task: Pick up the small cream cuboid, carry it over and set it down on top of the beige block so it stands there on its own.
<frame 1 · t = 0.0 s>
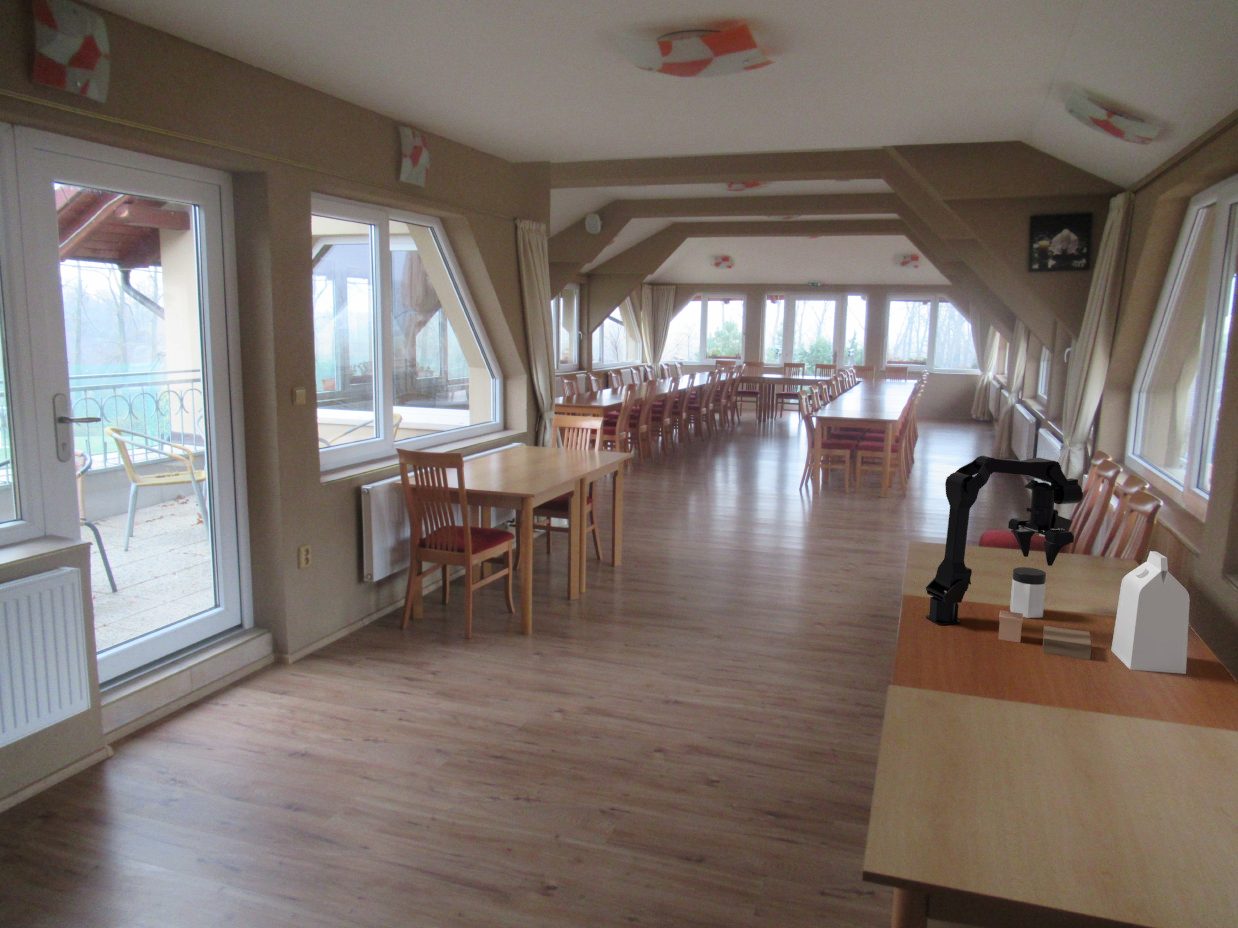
hand: (1037, 561, 231), 15 cm above the table, fingers open, 9 cm apart
milk: (1147, 662, 199), on the table
beige block: (1065, 650, 207), on the table
jar: (1026, 613, 233), on the table
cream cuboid: (1009, 637, 214), on the table
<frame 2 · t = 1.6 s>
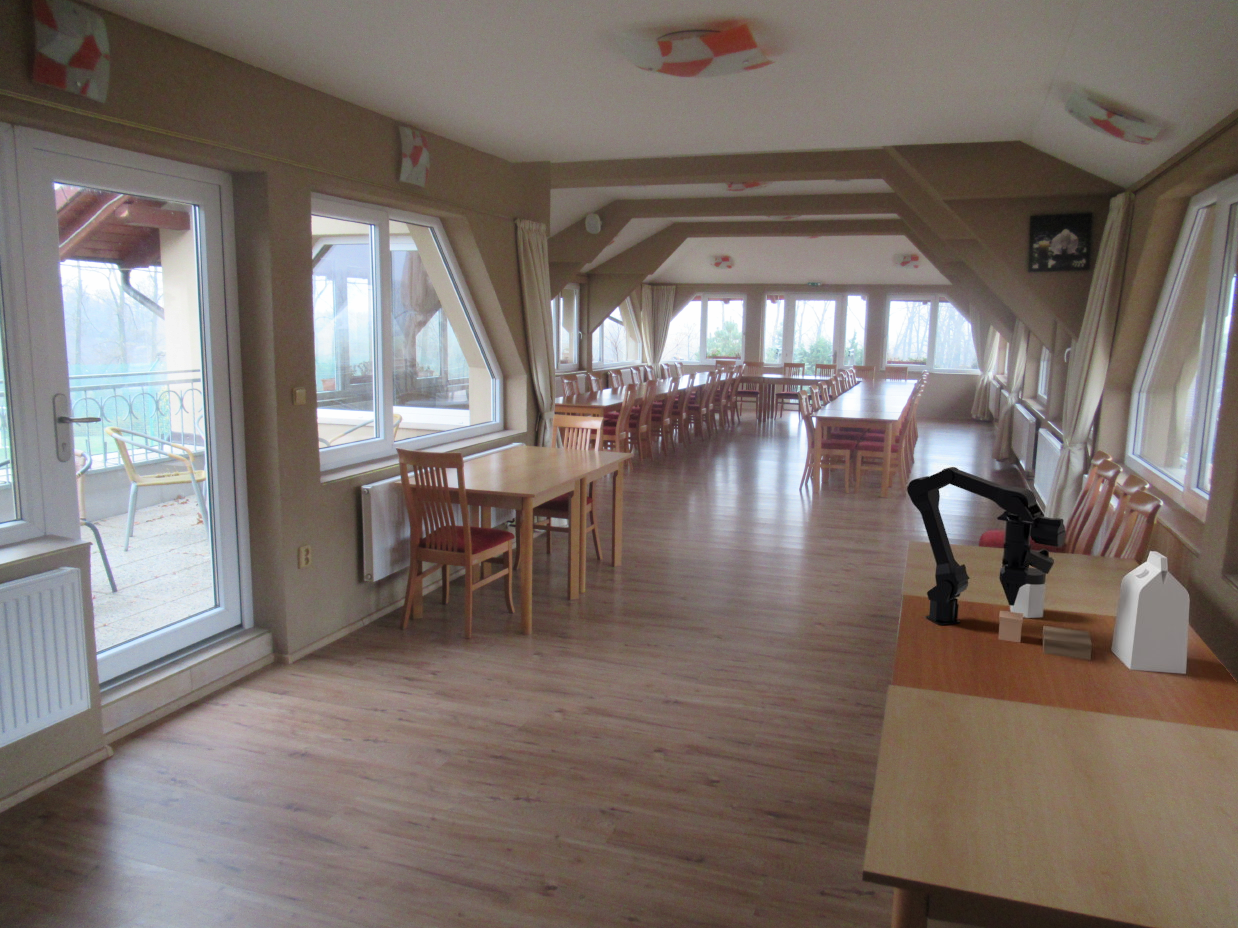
hand: (1012, 599, 213), 10 cm above the table, fingers open, 9 cm apart
nothing on the table moved.
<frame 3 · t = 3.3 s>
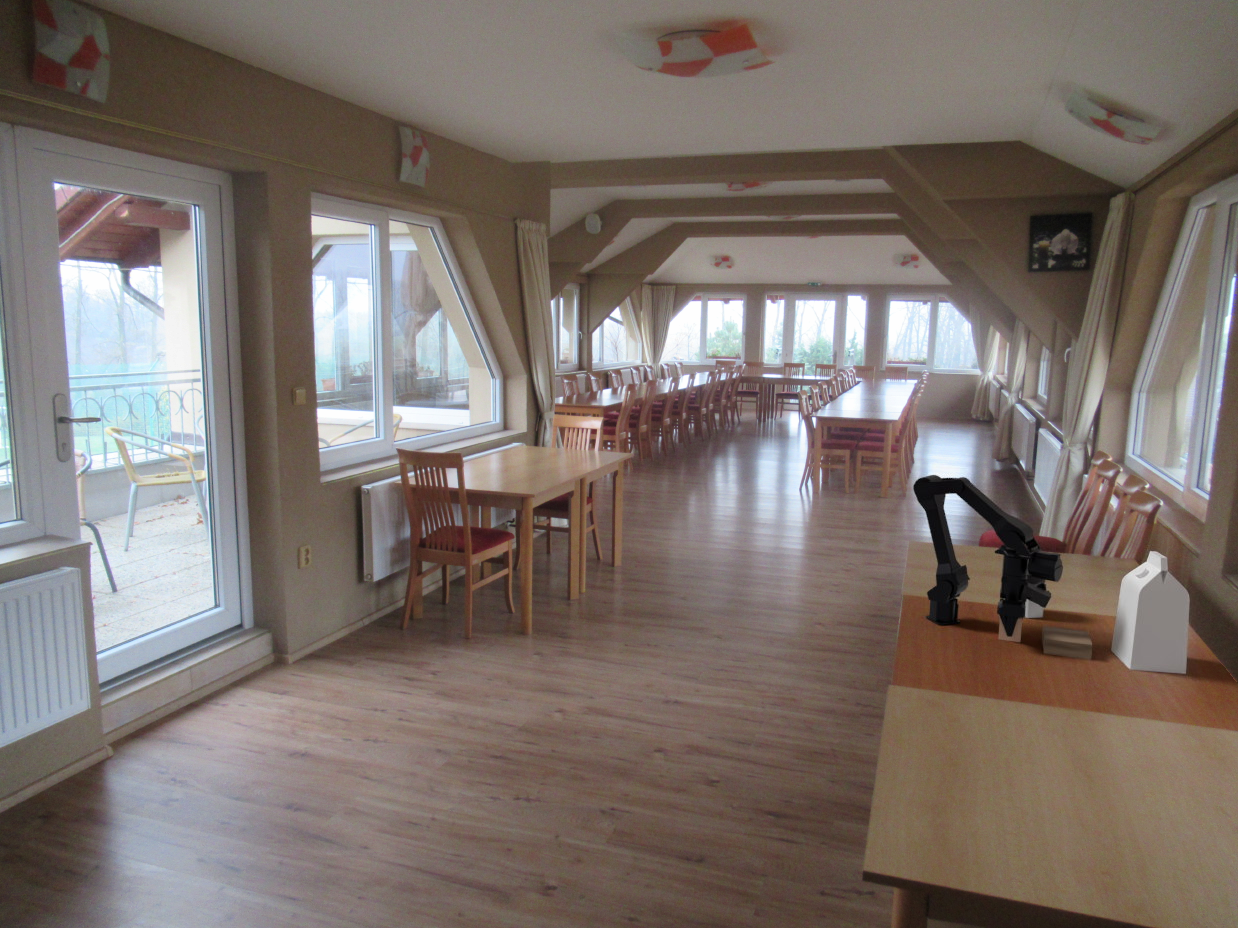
hand: (1009, 632, 214), 1 cm above the table, fingers closed on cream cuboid, 5 cm apart
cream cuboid: (1009, 637, 214), on the table, touching gripper
everything else where it was.
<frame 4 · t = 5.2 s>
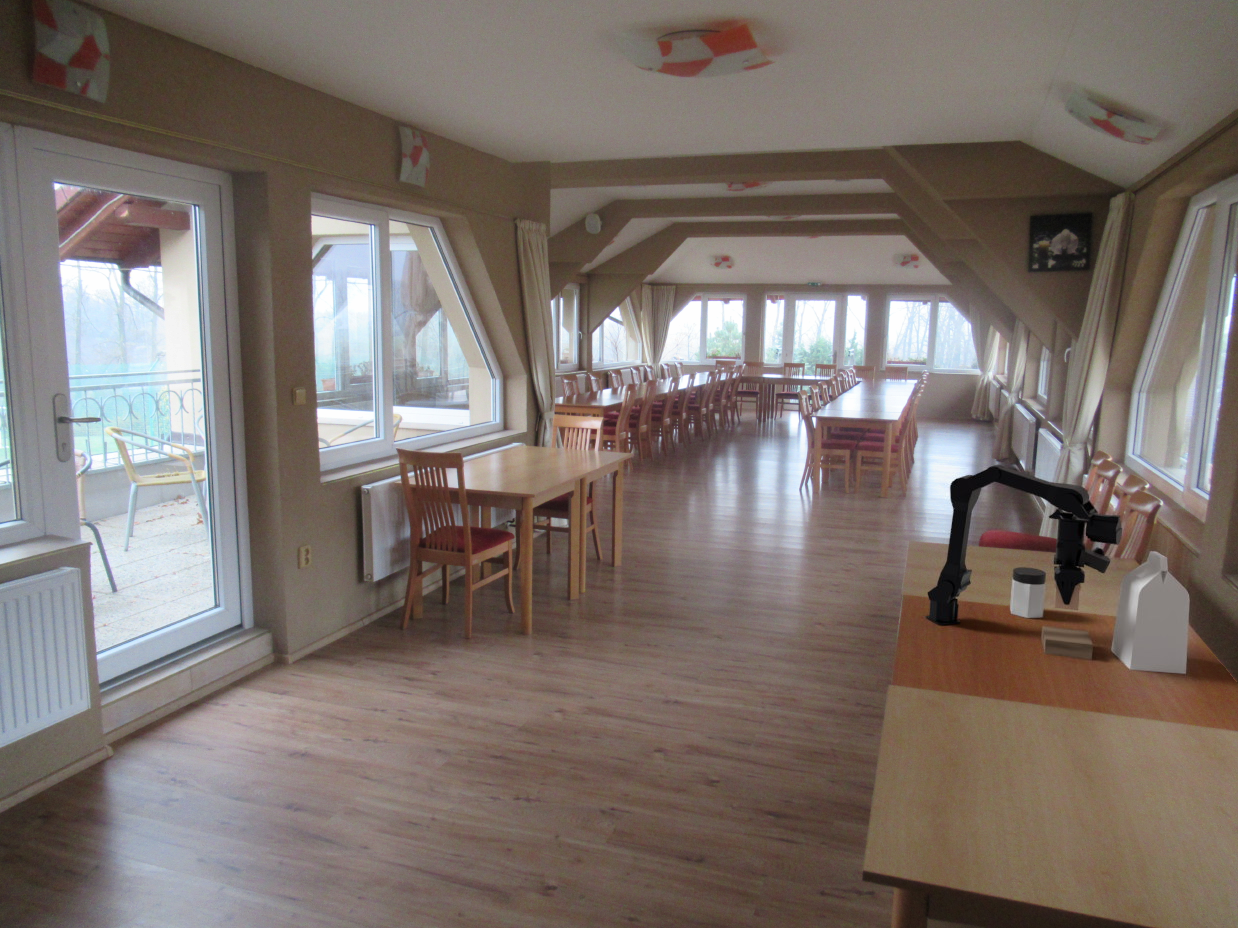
hand: (1066, 601, 205), 12 cm above the table, fingers closed on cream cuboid, 5 cm apart
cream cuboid: (1066, 606, 205), point 11 cm above the table, touching gripper
everything else where it was.
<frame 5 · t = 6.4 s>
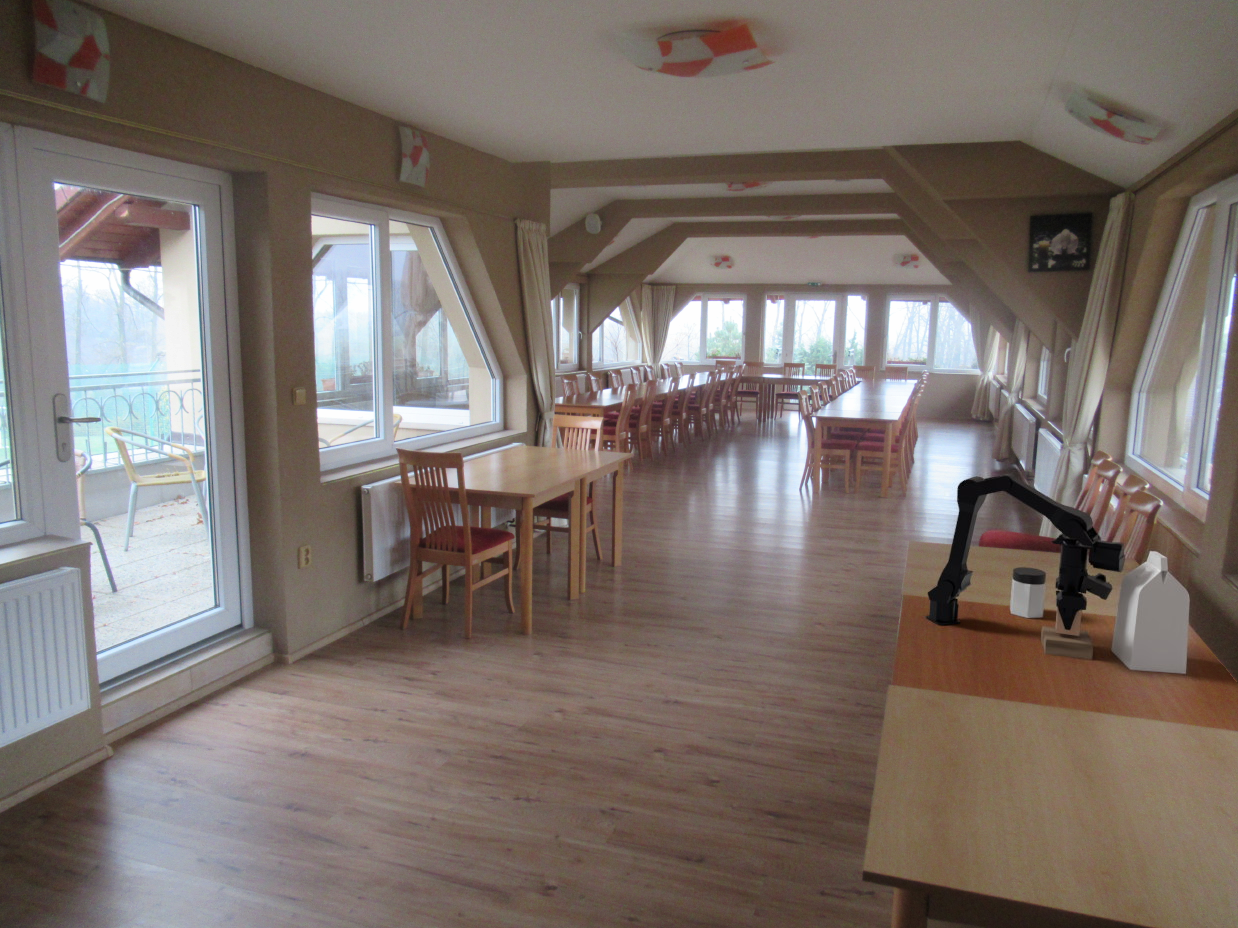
hand: (1067, 626, 206), 6 cm above the table, fingers closed on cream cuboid, 5 cm apart
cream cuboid: (1067, 630, 206), point 5 cm above the table, touching gripper
everything else where it was.
when the fingers open (6 cm above the table, at t = 7.4 s): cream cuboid drops 1 cm, resting on beige block.
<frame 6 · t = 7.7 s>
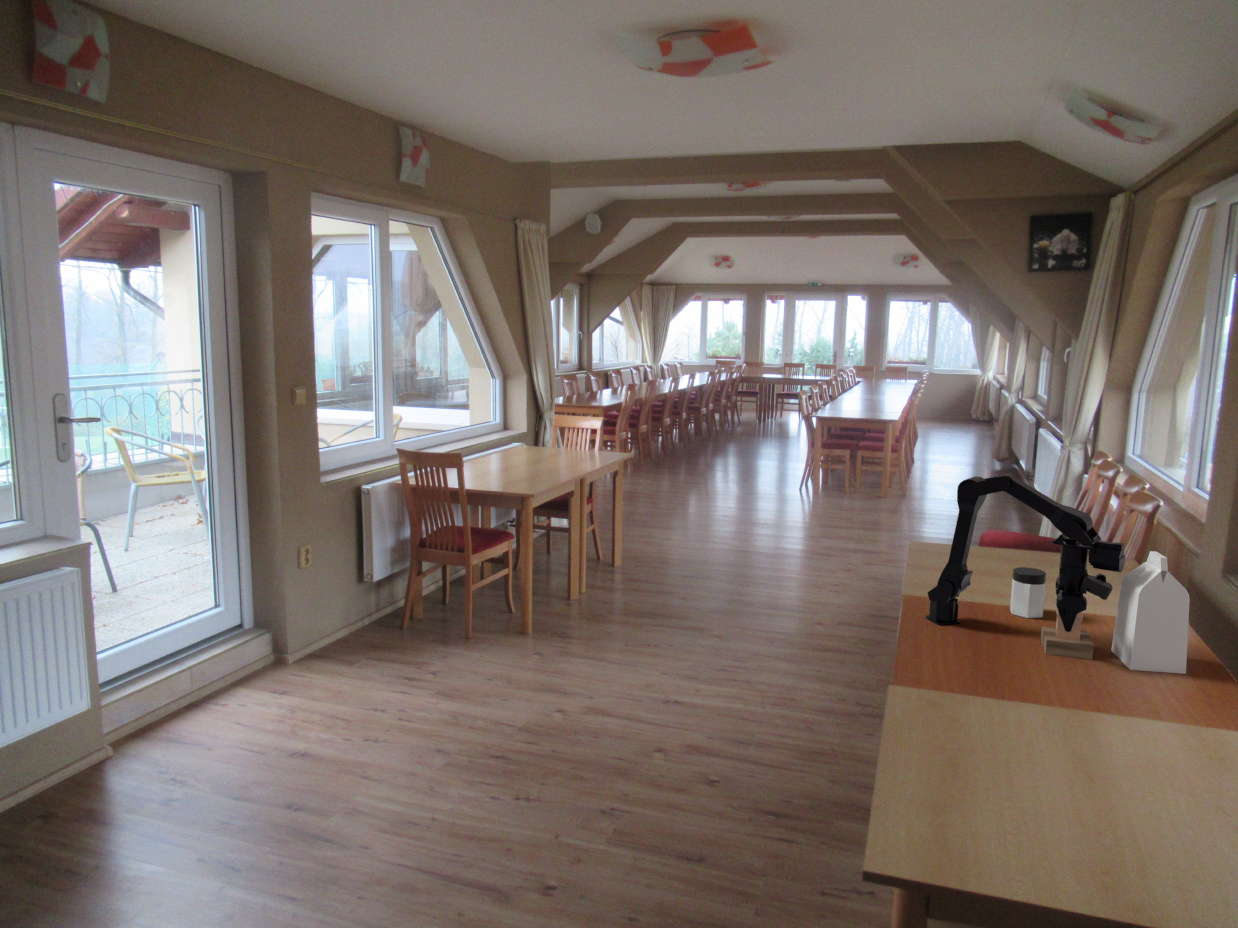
hand: (1067, 626, 206), 6 cm above the table, fingers open, 8 cm apart
beige block: (1065, 651, 207), on the table, touching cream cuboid
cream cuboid: (1067, 635, 206), point 4 cm above the table, touching beige block
everything else where it was.
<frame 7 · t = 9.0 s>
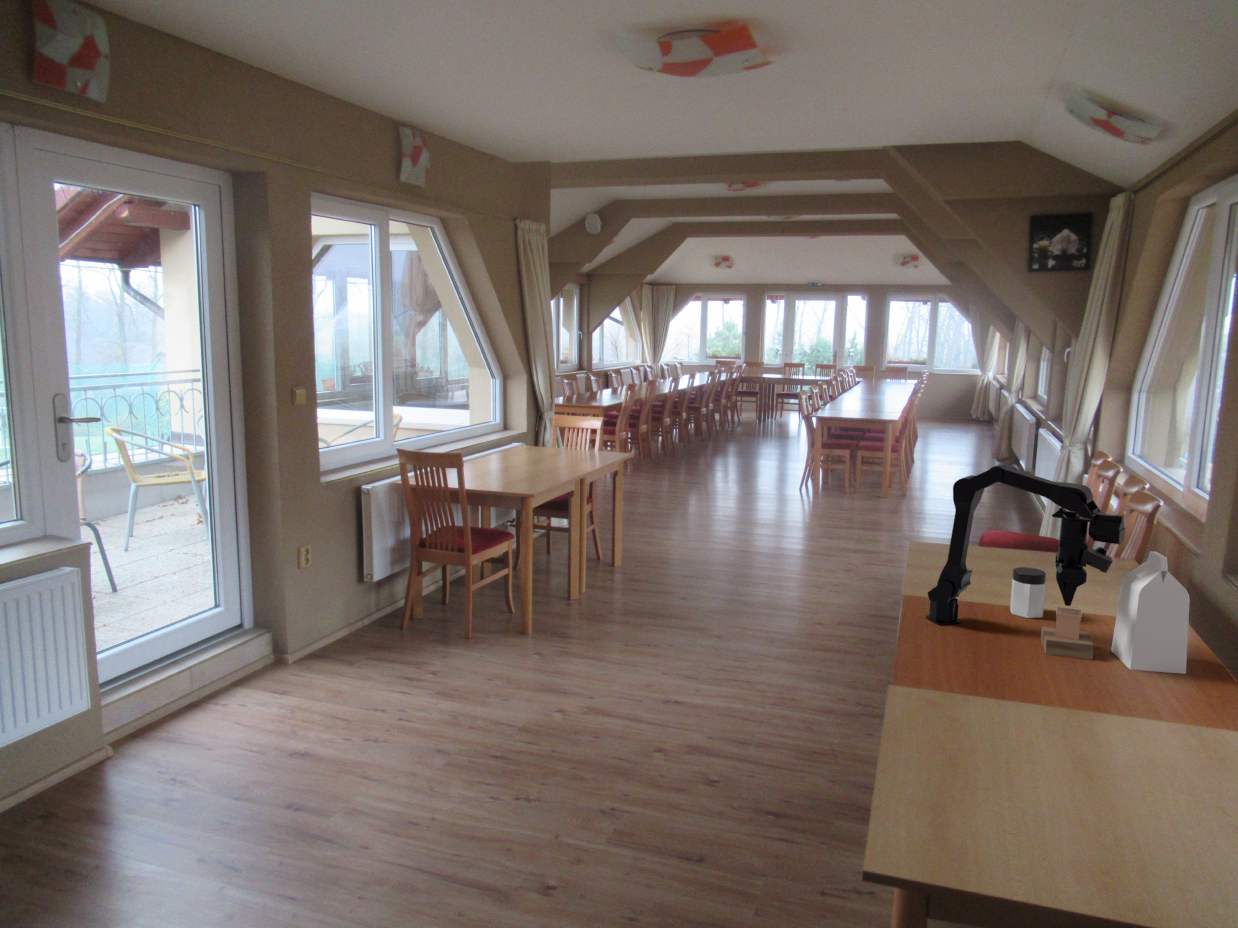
hand: (1067, 600, 205), 12 cm above the table, fingers open, 9 cm apart
nothing on the table moved.
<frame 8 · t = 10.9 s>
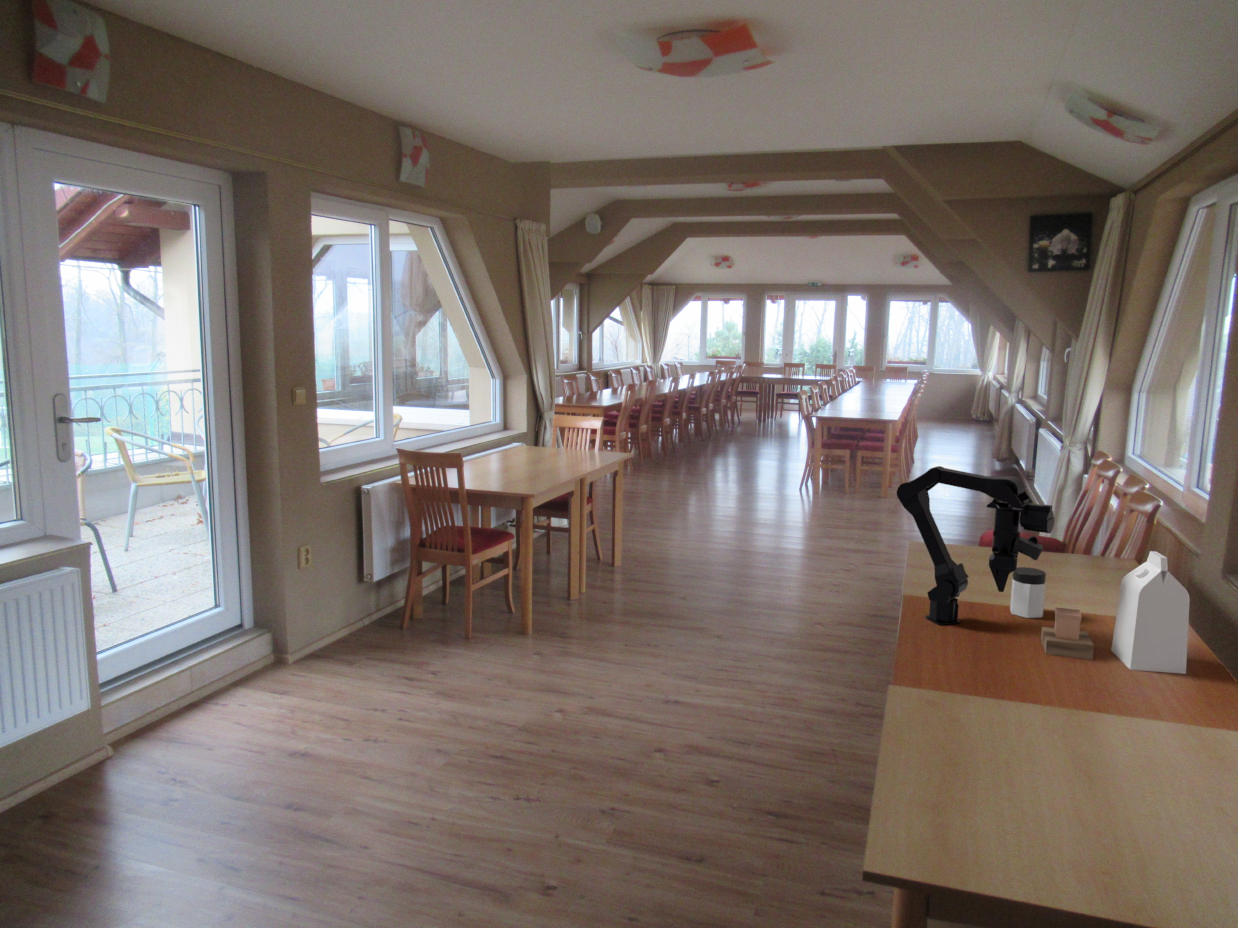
hand: (1001, 586, 215), 13 cm above the table, fingers open, 9 cm apart
nothing on the table moved.
at the end: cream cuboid inside the target area on the beige block (0.4 cm from its centre), point 4.1 cm above the beige block's base; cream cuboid tilted 1°; the gripper is holding nothing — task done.
